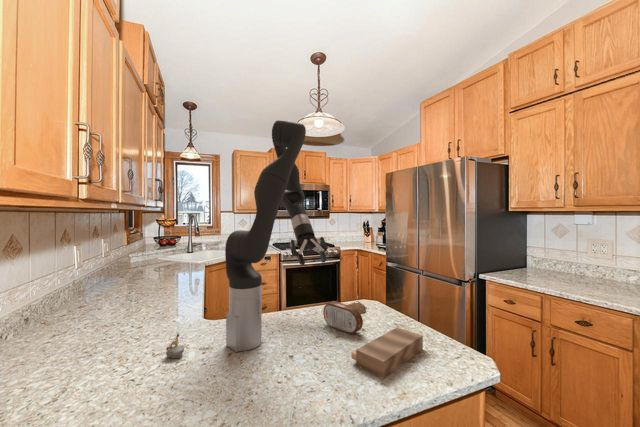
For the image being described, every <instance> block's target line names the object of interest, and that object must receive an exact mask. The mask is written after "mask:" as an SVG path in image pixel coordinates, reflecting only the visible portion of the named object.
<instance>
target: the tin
mask: <svg viewBox="0 0 640 427" xmlns="http://www.w3.org/2000/svg"><path fill="white" fill-rule="evenodd" d="M322 313H323V314H322V315H323V320H324V321H325V322H326V324H327V325H328V326H329V327H330V328H333V329H336V330H338V331H341V332H343V333H347V334H349V335H353V334H356V333H357V332H360V330H361V329H362V328H363V324H364V321H363V316H362V315H361V314H362V313H361V314H360V312H359V311H358V310H357V309H356V308H354V307H352V306H349V304H345V303H341V302H338V301H335V300H332V301H330V302H329V303H327V304H325V305H324V307H323V312H322Z"/></svg>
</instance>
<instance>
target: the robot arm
mask: <svg viewBox="0 0 640 427" xmlns="http://www.w3.org/2000/svg"><path fill="white" fill-rule="evenodd" d="M306 131H307V130H306V126H305V124H303V123H302V122H297V121H293V120H286V119H277V120H275V121H274V123H273V125H272V128H271V140H272V144H273V147H274V151H275V155H276V157H277V158H276V159H274V160H273V161H271V162H270V163H269V164H268V165H266V166H265V167H264V168H263V169H262V170H261V172H260V174H259V176H258V179H257V181H256V183H255V187H254V190H253V191H254V193H253V194H254V201H255V202H254V203H255V206H256V207H255V209H256V211H255V212H256V213H255V217H254V221H253V223H252V225H251V227H250V229H249V230H239V229H238V230H235V231H232V232H231V233H230V234H229V236H227V239H226V242H225V247H224V248H225V250H224V251H225V253H224V254H225V272H226V278H227V280H228V290H229V291H228V293H229V294H228V296H229V297H228V303H229V304H228V310H229V311H227V312H226V314H225V321H226V322H225V326H226V327H225V328H226V330H225V334H226V335H225V336H226V337H225V345H226V346H227V347H228V348H229V349H231V350H232V351H234V352H235V353H238V352H242V351H243V352H244V351H250V350H254V349H256V348H258V347H259V346H260V345H261V344H262V336H263V334H262V323H263V322H262V315H263V314H262V304H263V302H262V300H263V299H262V296H263V295H262V293H263V292H262V290H263V289H262V288H263V287H262V285H263V284H262V283H263V282H262V281H263V280H262V275H261V274H260V272H258V271H257V270H256V269H255V268H254V267H253V264H258V263H260V262H261V261H262V260H263V259H264V258H265V256H266V254H267V251H268V249H269V245H270V242H271V241H270V240H271V238H272V233H273V230H274V224H275V221H276V218H277V215H278V212H279V209H280V205H281V204H282V205H283V207H284V208H285V209H286V211H287V213H288V215H289V218H290V221H291V227H292V230H293V233H294V237H295V239H296V240H294V239H291V240H290V243H289V247H290V253H291V256H292V257H297V259H298V263H299V265H301V267H302V266H303V267H304V266H305V263H306V262H305V258H304V254H302V253H303V251H305V252H307V251H314V252H317V253H318V254H319V257H320V260H321V263H322V264H324V263H325V262H326V260H327V256H326V254H325V253H326V252H327V251H328V249H329V247H328V245H327V242H326V240H325V239H324V237H323V236H321V237H319V238H317V237H316V234H315V232H314V229H313V225H312V223H311V220H310V218H309V216H308V214H307V213H308V212H307V211H306V208H305V206H304V205H302V204H303V202H305V193H304V191H303V189H302V186H301V180H300V170H299V168H298V165H297V164H296V161H297V159H298V156H299V154H300V152H301V150H302V148H303V144H304V142H305V139H306V134H307V132H306ZM296 246H298V247H299V250H298V251H297V248H296Z"/></svg>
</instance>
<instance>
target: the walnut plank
mask: <svg viewBox="0 0 640 427" xmlns="http://www.w3.org/2000/svg"><path fill="white" fill-rule="evenodd" d="M423 337H424V336H423V334H419V333H416V332H414V331H413V332H412V331H410V330H408V329H404V328H401V327H399V326H398V327H397V326H396V327H395V328H393V329H391V330H389V331H387V332H386V333H384V334H382V335H380V336H378V337H377V338H375V339H373V340H371V341H369V342H367V343H366V344H364V345H362V346H360V347H359V348H357V349H355V350H354V351H352V352H350V353H351V359H352V360H354V361H355V366H356V367H358V366H359V367H358V368H360V367H361V368H360V369H362V370H364V371H366V372H367V373H368V372H369V373H370V374H372V375H374V376H376V377H378V378H381V379H382V380H385V379H386V378H387V377H388V376H389V375H391V374H393V373H394V372H395V371H396V370H397V369H399V368H401V366H403V365H404V364H406V363H407V362H408V361H410V360H411V359H412V358H414V357H415V356H416V355H417V354H419V353H420V352H422V351H423V349H424V347H423V346H424V345H423V344H424V342H423V341H424V340H423V339H424V338H423Z"/></svg>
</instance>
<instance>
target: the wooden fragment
mask: <svg viewBox="0 0 640 427" xmlns="http://www.w3.org/2000/svg"><path fill="white" fill-rule="evenodd" d="M355 302H358V303H355ZM348 305H349V306H352V307H354V308H356V309H357V310H358V311H359V312H360V314H364V313H365V312H367V310H366V309H367V307H366V306H365V305H364V304H363V303H362V302H361V301H359V300H358V301H354V302H352V303H349V304H348Z"/></svg>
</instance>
